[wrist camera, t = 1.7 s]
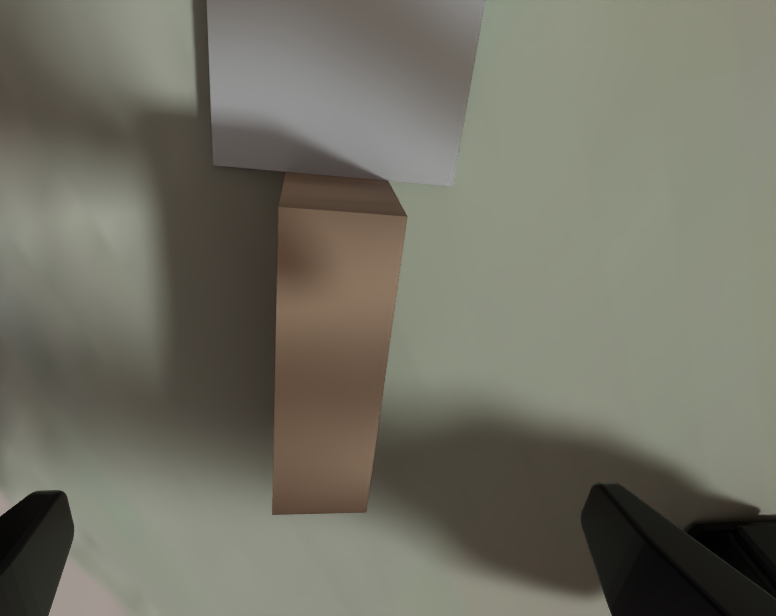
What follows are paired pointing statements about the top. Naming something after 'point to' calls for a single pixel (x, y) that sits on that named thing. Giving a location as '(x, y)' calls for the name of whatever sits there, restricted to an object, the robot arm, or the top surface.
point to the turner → (337, 199)
